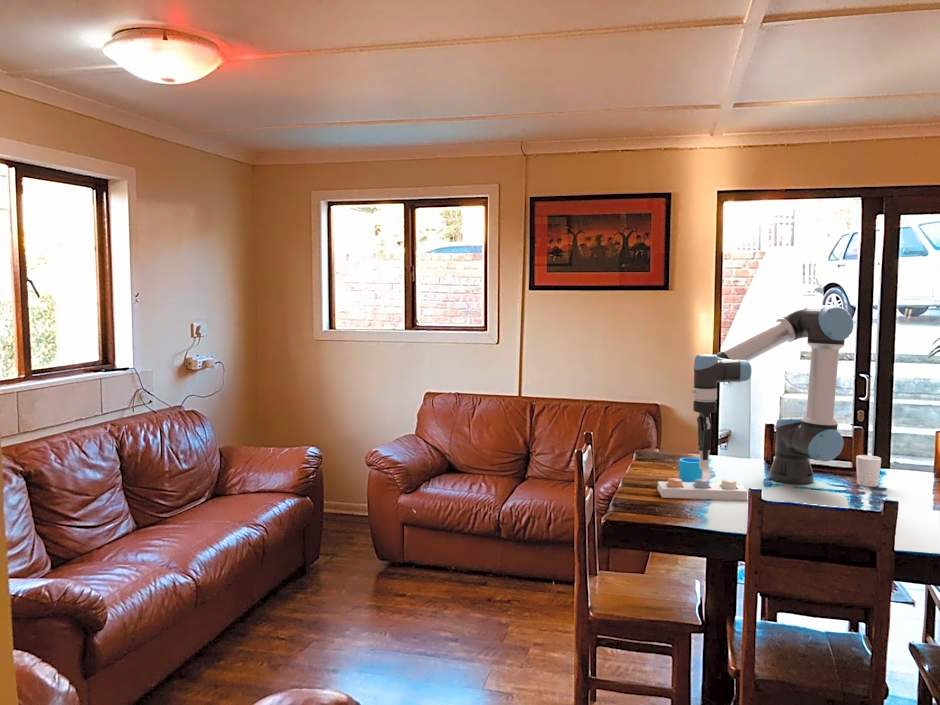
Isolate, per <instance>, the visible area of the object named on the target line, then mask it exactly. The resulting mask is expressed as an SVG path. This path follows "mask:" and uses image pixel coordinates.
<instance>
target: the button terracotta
mask: <svg viewBox="0 0 940 705" xmlns="http://www.w3.org/2000/svg"><path fill="white" fill-rule="evenodd" d="M667 482H668V487H676V488H682V479H679V477H669V478H667Z"/></svg>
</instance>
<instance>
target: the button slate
mask: <svg viewBox="0 0 940 705" xmlns="http://www.w3.org/2000/svg"><path fill="white" fill-rule="evenodd" d="M709 483H710V480H709V479H705V478H702V479H695V483H694V487H695V488H709Z"/></svg>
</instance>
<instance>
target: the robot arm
mask: <svg viewBox="0 0 940 705" xmlns="http://www.w3.org/2000/svg"><path fill="white" fill-rule="evenodd" d="M775 322H776V323H773V324H771V325H770V326H767V327H765V328H763V329H762V330H760V331H758V332H755V333H754V334H751V335H750V336H748V337H747V338H743V340H740V341H739V342H736V343H735V344H732V345H731V346H729V347H726V348H725V349H723V350H720V351H719V352H716V353H715V354H703V353H702V354H697V355H695V357H694V362H693V390H692V391H691V393H692V394H693V399H694V400H693V403H692V404H693V408H692V409H693V411H694V413H698V416H697V418H696V422H697V441H698V443H697V445H698V447H699V448H698V451H699V459H700V465H699V468H700V469H702V470H709V468H710V467H709V463H710V462H709V461H710V460H709V459H710V457H709V455H710V453H709V452H710V450H711V448H712V447H711V446H712V434H713V427H714V424H713V423H712V422H713V418H712V417H711V414H714V413H716V412H717V409H718V408H717V406H718V405H717V404H718V403H717V401H716V400H718V383H735V382H736V383H741V382H746V381H749V380H750V378H751V376H752V366H751V364H750V362H749V361H751V360H753V359H754V358H757V357H759V356H760V355H762V354H765V353H767V352H768V351H770V350H772V349H774V348H776V347H778V346H780V345H782V344H784V343H786V342H788V343H793V342H795V341H796V340H799V339H802V338H803V339H804V338H807V344H808V346H809V347H810V348H811V351H810V352H811V355H810V367H809V379H808V380H809V381H808V389H807V390H808V391H807V392H808V393H807V401H806V402H807V404H806V415H805V416H804V417H780V418H778V419H777V420H776V425H775V447H774V448H775V450H774V451H775V452H774V454H775V455H774V459H773V461H772V464H771V466H770V469H769V475H768V477H769V479H771V480H773V481H777V482H780V483H786V484H795V485H796V484H797V485H801V484H802V485H803V484H804V485H806V484H811V483H814V482H815V481H814V480H815V477H814V471H813V467H812V465H811V461H810V459H812V460H813V461H820V462H823V463H824V462H825V463H826V462H830V461H831V462H832V461H833V460H835V459H836V457H839V455H841V452H842V450H843V448H844V442H845V441H844V438H843V436H842V435H841V433H840V432H839V431H838V422H837V421H836V420H835V418H834V414H835V413H834V412H835V401H836V392H837V391H836V386H837V375H838V367H839V366H838V364H839V351H840V350H841V349H842V348H843V347H844V346H845V340H846V339H848V338H849V337H850V335H851V334H852V332H853V330H854V319H853V316H852V314H850V312H849V311H848V310H847V309H846V308H844V307H842V306H839V305H838V306H837V305H830V304H829V305H822V304H821V305H820V304H819V305H818V304H817V305H814V304H812V305H811V304H810V305H804V306H802V307H798V308H797V309H795V310H793V311H791V312H788V313H786V314H785V315H783V316H780V317H778V319H776V321H775Z"/></svg>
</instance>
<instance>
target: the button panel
mask: <svg viewBox="0 0 940 705" xmlns="http://www.w3.org/2000/svg"><path fill="white" fill-rule="evenodd" d="M694 483H695V482H682V488H676V487H668V481H664V480H663V481H662V480H661V481H657V492H658V493H659V495H660V496H661V498H662V499H663V498H664V499H665V498H666V499H694V500H696V499H697V500H700V499H701V500H731V501H739V500H740V501H748V500H747V491H748V490H747V489H746V487H744V486H743V485H742V484H741V483H736V489H722V488H721V484H722V482H709V488H695V487H694Z"/></svg>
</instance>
